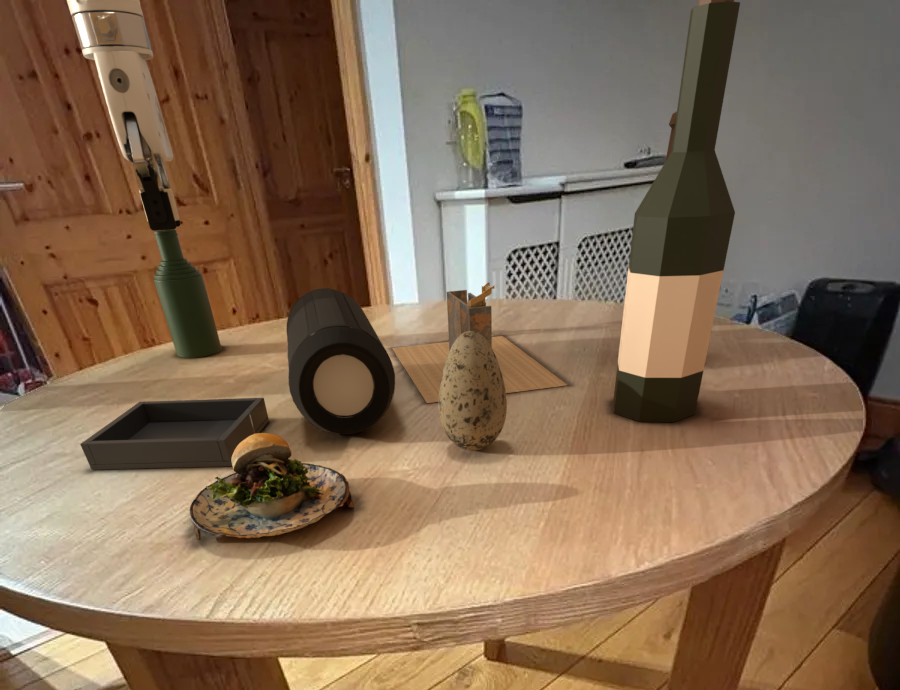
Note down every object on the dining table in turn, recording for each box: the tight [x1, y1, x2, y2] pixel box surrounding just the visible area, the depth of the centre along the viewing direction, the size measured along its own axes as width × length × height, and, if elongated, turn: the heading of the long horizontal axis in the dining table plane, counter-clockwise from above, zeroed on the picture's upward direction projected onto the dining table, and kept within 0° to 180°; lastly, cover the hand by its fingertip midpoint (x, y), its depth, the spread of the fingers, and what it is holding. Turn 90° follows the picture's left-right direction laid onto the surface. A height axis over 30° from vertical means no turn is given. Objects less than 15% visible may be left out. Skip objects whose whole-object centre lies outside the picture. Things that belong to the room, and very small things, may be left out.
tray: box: [79, 397, 270, 471], centre depth 58 cm, size 13×11×2 cm
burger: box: [189, 410, 355, 541], centre depth 44 cm, size 12×12×8 cm
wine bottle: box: [612, 0, 741, 423], centre depth 51 cm, size 8×8×30 cm
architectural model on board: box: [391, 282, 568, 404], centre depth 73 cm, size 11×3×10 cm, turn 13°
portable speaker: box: [286, 287, 396, 436], centre depth 63 cm, size 26×10×10 cm, turn 13°
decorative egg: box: [438, 331, 508, 451], centre depth 51 cm, size 6×6×10 cm
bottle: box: [153, 229, 223, 359], centre depth 83 cm, size 6×6×15 cm
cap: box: [138, 188, 181, 222], centre depth 77 cm, size 4×4×3 cm
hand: (166, 226), depth 79 cm, fingers closed on cap, 3 cm apart
